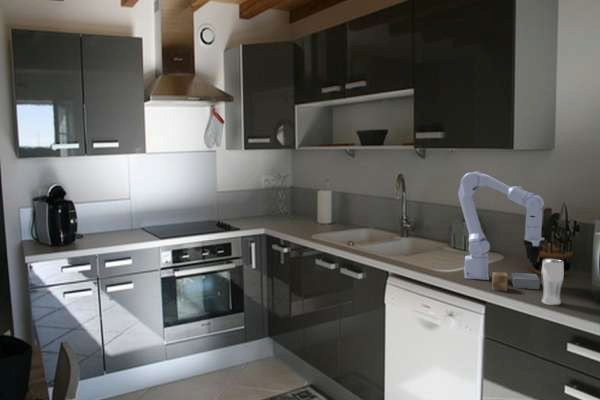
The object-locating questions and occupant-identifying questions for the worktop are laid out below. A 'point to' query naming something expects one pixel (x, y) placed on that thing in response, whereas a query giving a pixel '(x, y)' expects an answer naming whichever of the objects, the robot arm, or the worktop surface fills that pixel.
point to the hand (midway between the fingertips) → (531, 260)
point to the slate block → (525, 281)
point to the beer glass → (552, 280)
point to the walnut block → (499, 281)
